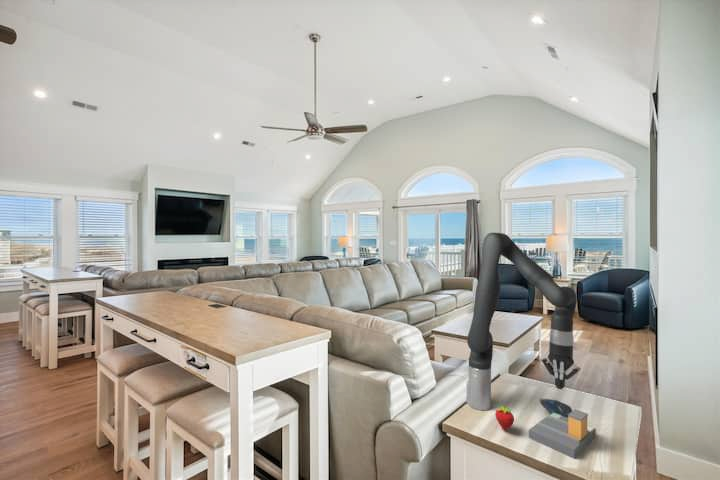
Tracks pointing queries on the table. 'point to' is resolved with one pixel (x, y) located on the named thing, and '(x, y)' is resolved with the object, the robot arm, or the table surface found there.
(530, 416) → the table surface
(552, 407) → the seashell
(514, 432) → the table surface
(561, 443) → the panel
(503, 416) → the strawberry
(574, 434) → the breaker toggle
